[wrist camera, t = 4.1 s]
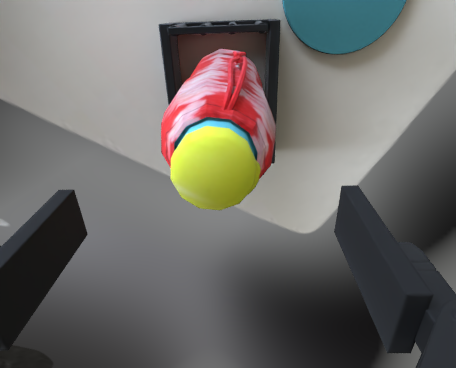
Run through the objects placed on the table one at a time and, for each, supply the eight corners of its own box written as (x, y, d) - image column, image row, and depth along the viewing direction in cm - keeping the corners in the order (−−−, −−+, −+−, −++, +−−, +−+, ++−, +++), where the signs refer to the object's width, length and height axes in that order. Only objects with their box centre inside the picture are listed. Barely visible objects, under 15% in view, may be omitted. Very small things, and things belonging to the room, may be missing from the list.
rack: (181, 152, 42) (170, 177, 36) (166, 23, 35) (150, 25, 28) (271, 150, 41) (277, 176, 35) (275, 19, 34) (285, 20, 28)
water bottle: (235, 147, 41) (234, 299, 19) (177, 125, 40) (106, 262, 18) (274, 55, 36) (334, 124, 14) (208, 27, 35) (159, 54, 13)
